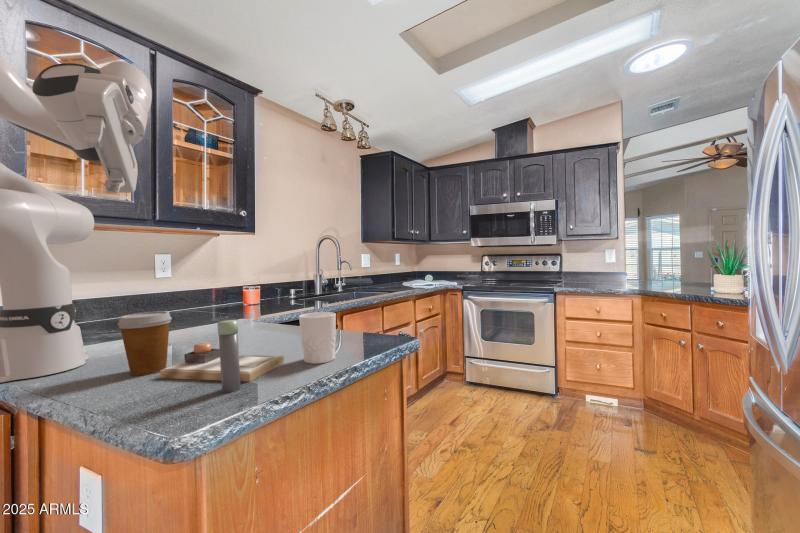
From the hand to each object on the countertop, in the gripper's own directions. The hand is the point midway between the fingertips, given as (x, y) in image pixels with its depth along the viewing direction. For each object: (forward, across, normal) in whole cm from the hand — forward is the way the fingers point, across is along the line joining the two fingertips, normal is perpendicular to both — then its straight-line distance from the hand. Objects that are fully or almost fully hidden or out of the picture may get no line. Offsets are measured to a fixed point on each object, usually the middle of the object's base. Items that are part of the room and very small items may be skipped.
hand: (102, 168), depth 61 cm
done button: (+19, -33, +12) cm, 40 cm away
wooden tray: (+24, -31, +16) cm, 43 cm away
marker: (+32, -21, +18) cm, 43 cm away
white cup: (+25, -30, +36) cm, 53 cm away
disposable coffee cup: (+19, -38, +1) cm, 43 cm away
